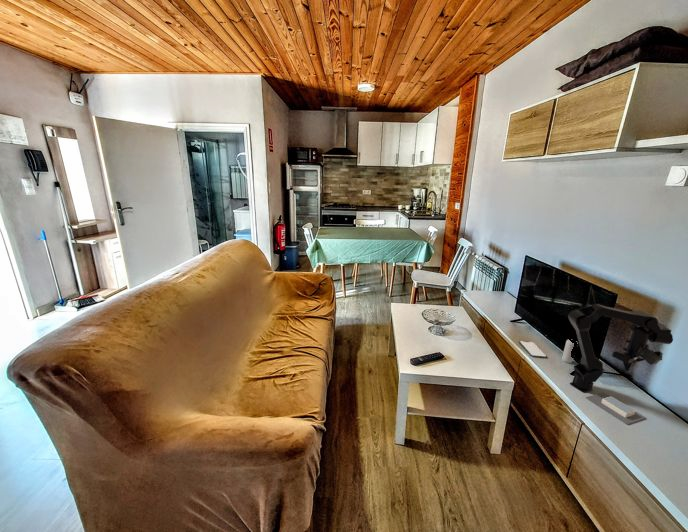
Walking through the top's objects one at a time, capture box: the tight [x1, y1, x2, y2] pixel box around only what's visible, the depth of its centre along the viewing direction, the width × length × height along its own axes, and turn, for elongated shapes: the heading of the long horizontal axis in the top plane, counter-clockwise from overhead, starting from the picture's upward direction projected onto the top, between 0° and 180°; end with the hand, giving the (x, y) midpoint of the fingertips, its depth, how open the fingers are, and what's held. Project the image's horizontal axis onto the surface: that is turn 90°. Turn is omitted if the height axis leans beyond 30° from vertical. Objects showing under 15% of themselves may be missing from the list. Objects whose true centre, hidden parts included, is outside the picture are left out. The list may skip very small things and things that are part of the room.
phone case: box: [518, 340, 548, 359], centre depth 173 cm, size 9×2×16 cm
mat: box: [585, 392, 647, 425], centre depth 129 cm, size 16×12×1 cm
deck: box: [601, 396, 637, 418], centre depth 128 cm, size 9×2×6 cm
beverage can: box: [561, 338, 574, 364], centre depth 162 cm, size 5×5×12 cm
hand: (627, 370), depth 136 cm, fingers closed
